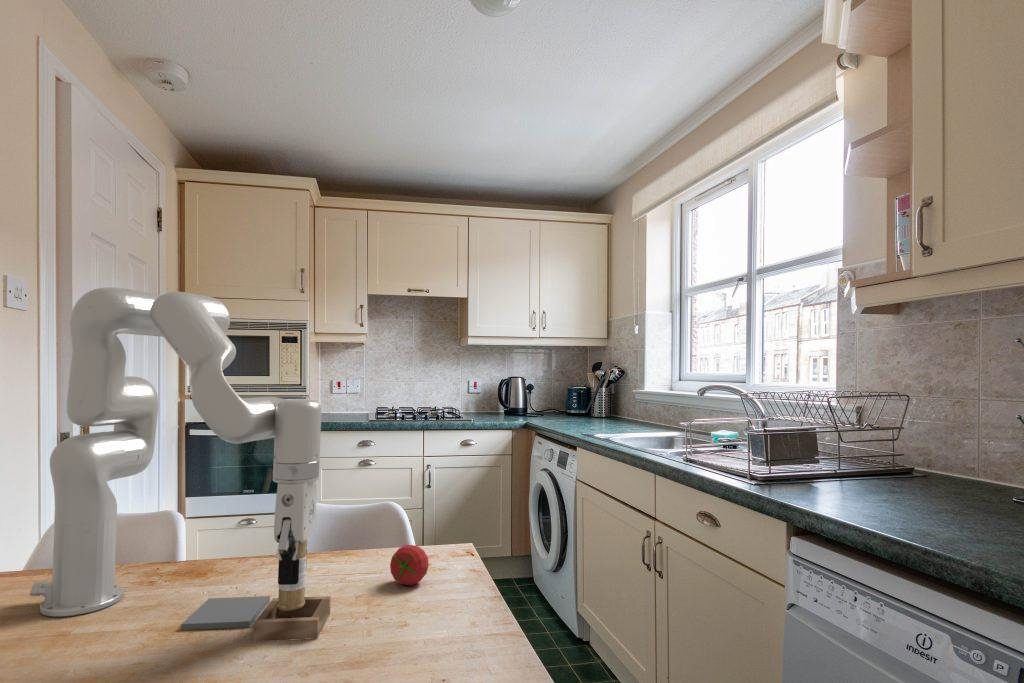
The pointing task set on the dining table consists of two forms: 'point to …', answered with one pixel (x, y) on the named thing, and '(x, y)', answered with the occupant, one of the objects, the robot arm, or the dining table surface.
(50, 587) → the robot arm
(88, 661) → the dining table surface
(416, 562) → the tomato
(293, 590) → the spice jar
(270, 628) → the brown wooden square tray
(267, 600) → the mat
